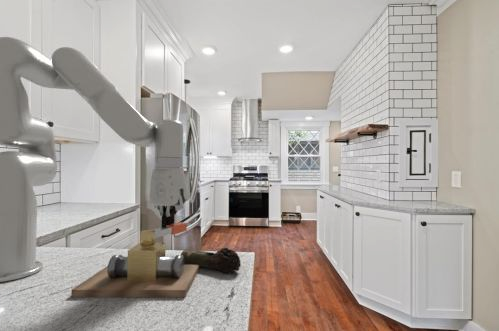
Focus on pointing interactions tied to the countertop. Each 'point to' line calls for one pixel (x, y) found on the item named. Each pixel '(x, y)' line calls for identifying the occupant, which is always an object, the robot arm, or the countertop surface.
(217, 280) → the countertop surface
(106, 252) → the countertop surface
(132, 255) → the pipe and valve
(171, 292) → the mounting board
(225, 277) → the countertop surface
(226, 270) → the olive brown elongated lump
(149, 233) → the valve lever
